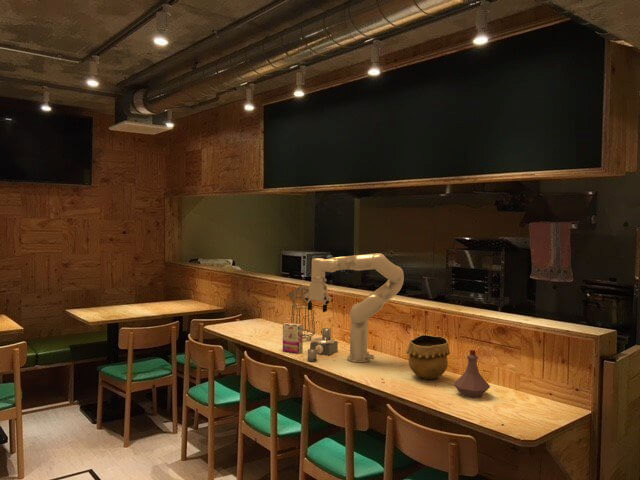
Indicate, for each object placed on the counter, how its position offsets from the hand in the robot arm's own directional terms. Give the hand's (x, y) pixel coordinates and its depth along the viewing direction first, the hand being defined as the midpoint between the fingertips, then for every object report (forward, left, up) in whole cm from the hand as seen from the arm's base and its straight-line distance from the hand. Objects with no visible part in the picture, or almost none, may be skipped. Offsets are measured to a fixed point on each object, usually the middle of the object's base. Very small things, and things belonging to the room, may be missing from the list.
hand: (317, 310), depth 296 cm
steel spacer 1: (-1, +7, -27) cm, 28 cm away
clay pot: (-65, +6, -27) cm, 71 cm away
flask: (-89, +20, -27) cm, 95 cm away
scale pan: (+2, -13, -20) cm, 24 cm away
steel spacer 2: (+2, -16, -19) cm, 25 cm away
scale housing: (+2, -13, -26) cm, 29 cm away
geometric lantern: (+28, -33, -27) cm, 51 cm away
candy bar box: (+18, -4, -27) cm, 32 cm away
